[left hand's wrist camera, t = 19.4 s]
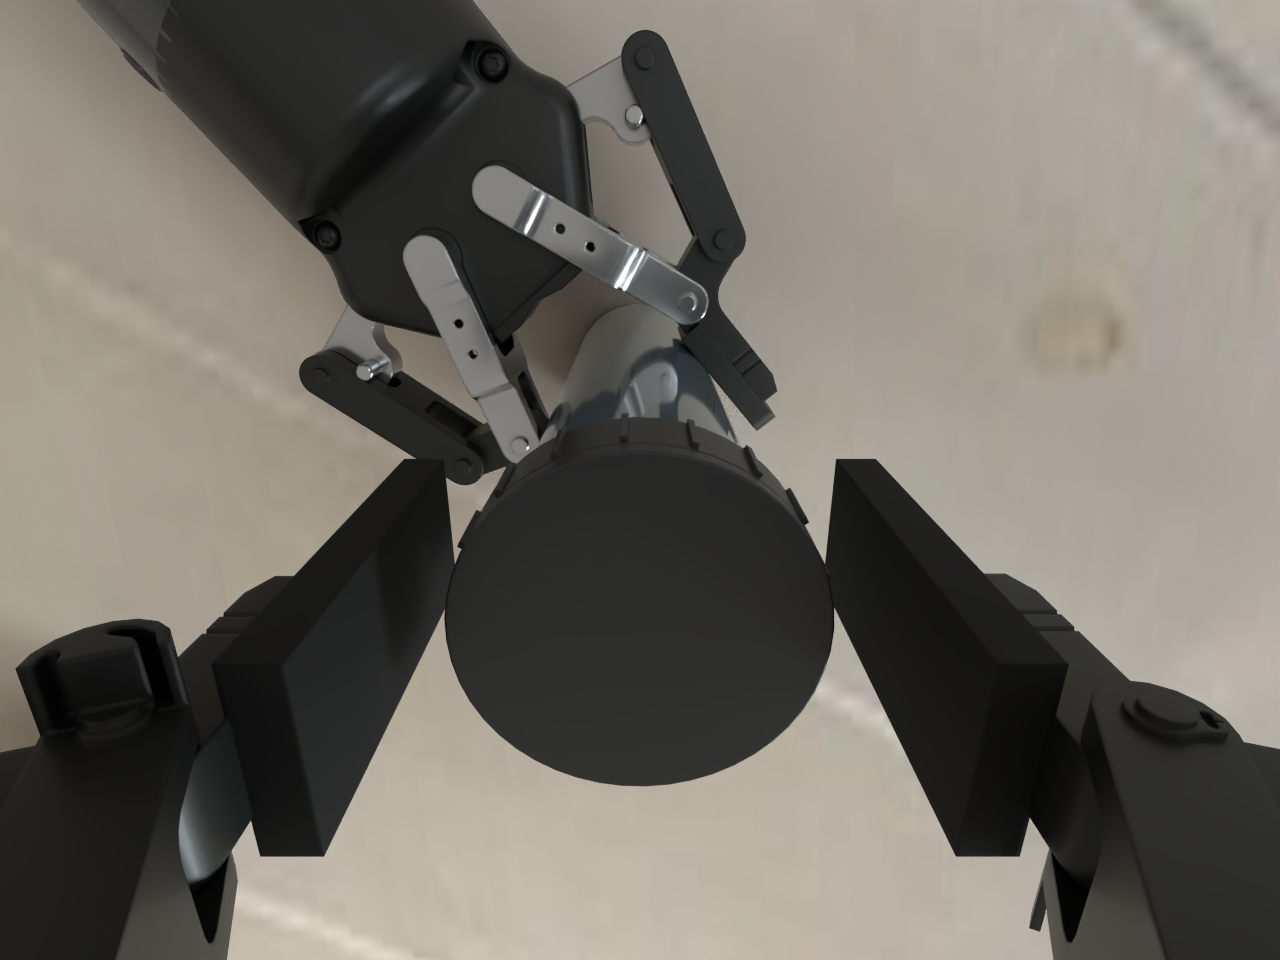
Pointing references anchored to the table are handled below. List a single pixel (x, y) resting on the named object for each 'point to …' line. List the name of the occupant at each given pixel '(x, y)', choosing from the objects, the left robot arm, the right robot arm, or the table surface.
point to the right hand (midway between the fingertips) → (692, 469)
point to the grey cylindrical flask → (637, 376)
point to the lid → (639, 604)
